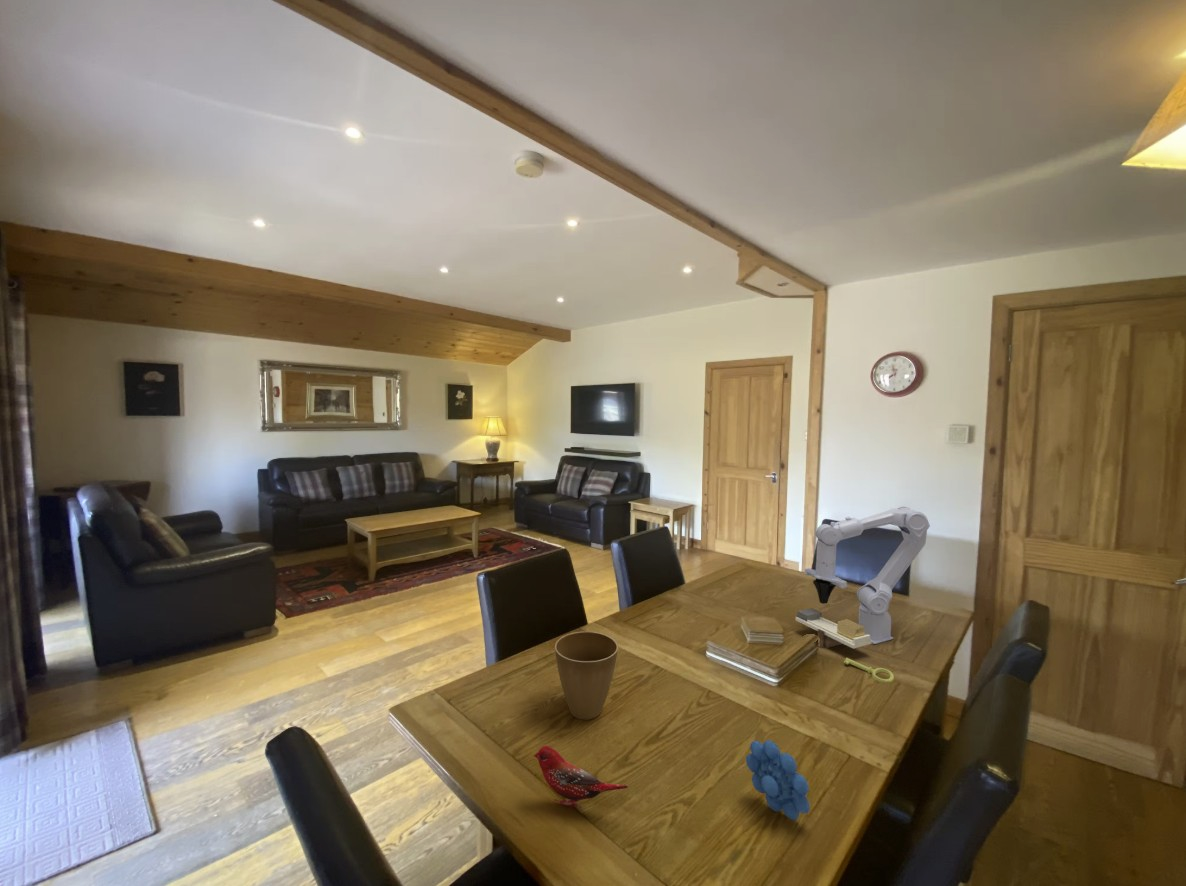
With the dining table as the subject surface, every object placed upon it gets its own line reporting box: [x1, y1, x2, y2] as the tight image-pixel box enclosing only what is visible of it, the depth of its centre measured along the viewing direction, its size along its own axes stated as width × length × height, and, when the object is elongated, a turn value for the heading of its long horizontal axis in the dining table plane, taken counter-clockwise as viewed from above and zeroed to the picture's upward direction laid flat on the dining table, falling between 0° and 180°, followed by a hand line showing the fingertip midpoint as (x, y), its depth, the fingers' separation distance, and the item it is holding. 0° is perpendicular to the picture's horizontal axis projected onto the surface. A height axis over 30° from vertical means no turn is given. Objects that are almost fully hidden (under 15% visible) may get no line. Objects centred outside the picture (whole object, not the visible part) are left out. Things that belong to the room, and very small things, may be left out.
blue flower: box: [745, 740, 810, 821], centre depth 86 cm, size 12×7×12 cm, turn 44°
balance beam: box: [795, 607, 873, 649], centre depth 152 cm, size 21×8×3 cm, turn 25°
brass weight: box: [836, 618, 865, 640], centre depth 146 cm, size 6×4×4 cm
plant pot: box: [554, 631, 619, 720], centre depth 115 cm, size 15×15×16 cm
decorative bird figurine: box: [533, 745, 629, 809], centre depth 86 cm, size 3×18×10 cm, turn 73°
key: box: [843, 657, 895, 684], centre depth 135 cm, size 7×12×2 cm, turn 61°
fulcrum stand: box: [817, 629, 844, 649], centre depth 153 cm, size 3×10×5 cm, turn 115°
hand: (823, 602), depth 159 cm, fingers closed
